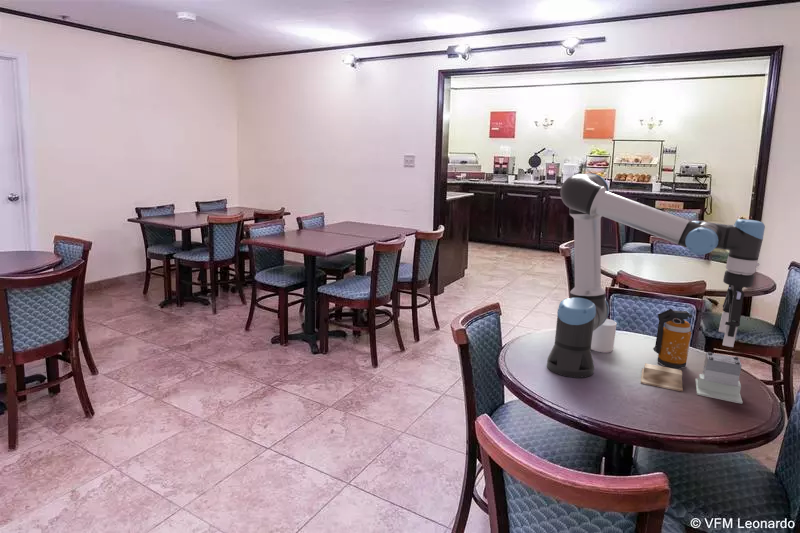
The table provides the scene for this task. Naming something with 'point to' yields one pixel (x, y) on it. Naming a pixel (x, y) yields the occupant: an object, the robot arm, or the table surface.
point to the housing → (722, 369)
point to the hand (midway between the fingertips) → (725, 338)
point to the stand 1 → (662, 377)
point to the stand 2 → (718, 390)
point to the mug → (604, 337)
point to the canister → (673, 338)
